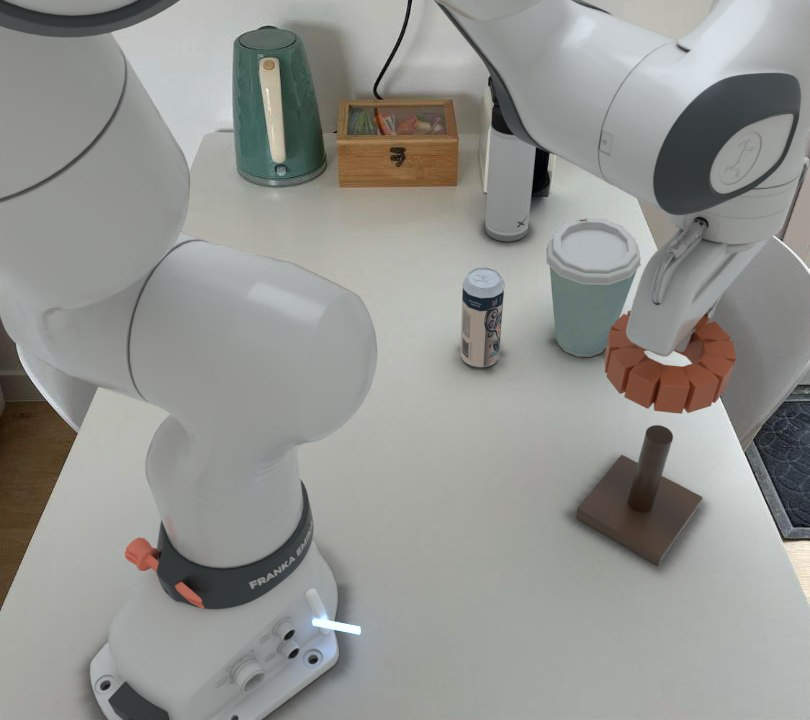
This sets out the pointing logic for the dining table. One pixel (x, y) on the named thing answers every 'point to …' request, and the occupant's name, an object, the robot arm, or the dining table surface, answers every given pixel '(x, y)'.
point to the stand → (641, 501)
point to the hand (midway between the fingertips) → (688, 332)
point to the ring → (671, 369)
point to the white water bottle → (508, 181)
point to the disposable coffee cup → (589, 281)
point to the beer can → (481, 317)
